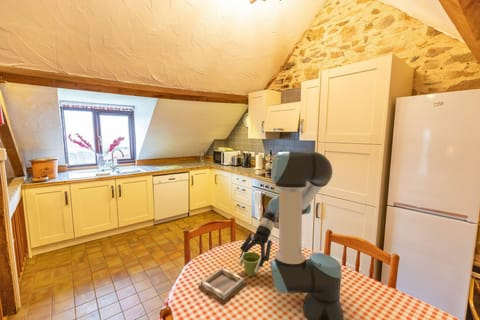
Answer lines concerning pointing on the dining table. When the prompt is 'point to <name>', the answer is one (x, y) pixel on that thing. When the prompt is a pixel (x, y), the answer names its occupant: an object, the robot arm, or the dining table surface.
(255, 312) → the dining table surface
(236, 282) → the stand
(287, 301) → the dining table surface
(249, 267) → the plant pot
